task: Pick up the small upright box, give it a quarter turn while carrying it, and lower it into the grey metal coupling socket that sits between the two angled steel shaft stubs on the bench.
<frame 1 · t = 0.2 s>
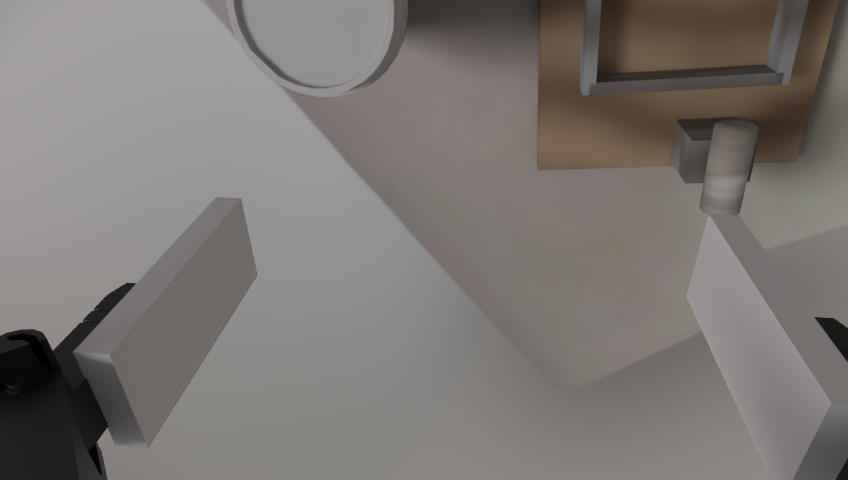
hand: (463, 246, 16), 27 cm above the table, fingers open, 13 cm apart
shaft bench: (680, 2, 37), on the table
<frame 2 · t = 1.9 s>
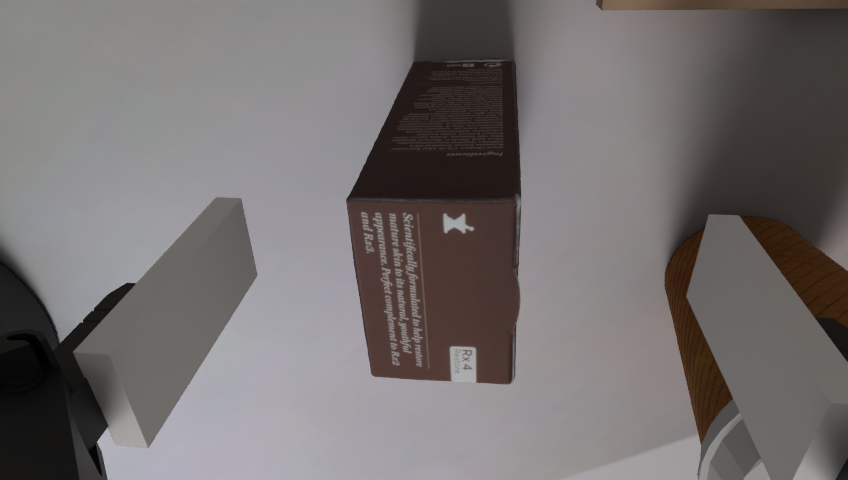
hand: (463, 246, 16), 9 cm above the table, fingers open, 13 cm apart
box: (461, 127, 25), on the table
disposable coffee cup: (732, 271, 27), on the table
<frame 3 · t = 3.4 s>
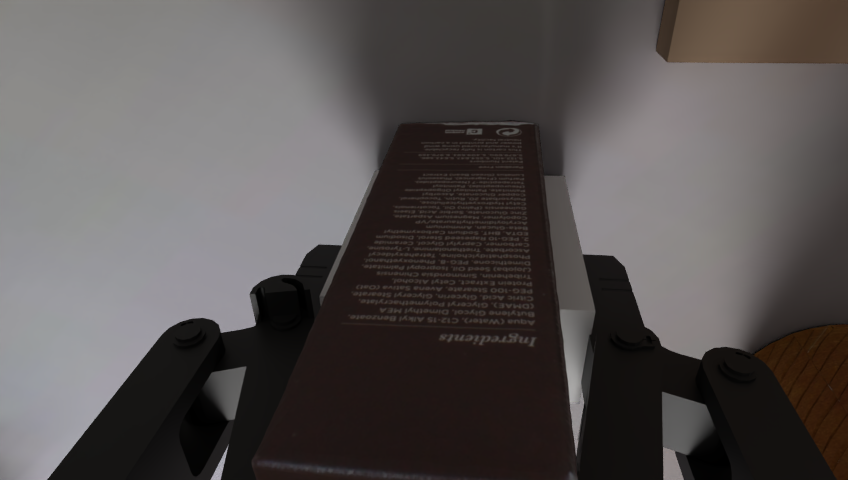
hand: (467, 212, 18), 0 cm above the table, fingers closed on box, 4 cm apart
box: (464, 205, 18), on the table, touching gripper
disposable coffee cup: (816, 385, 21), on the table
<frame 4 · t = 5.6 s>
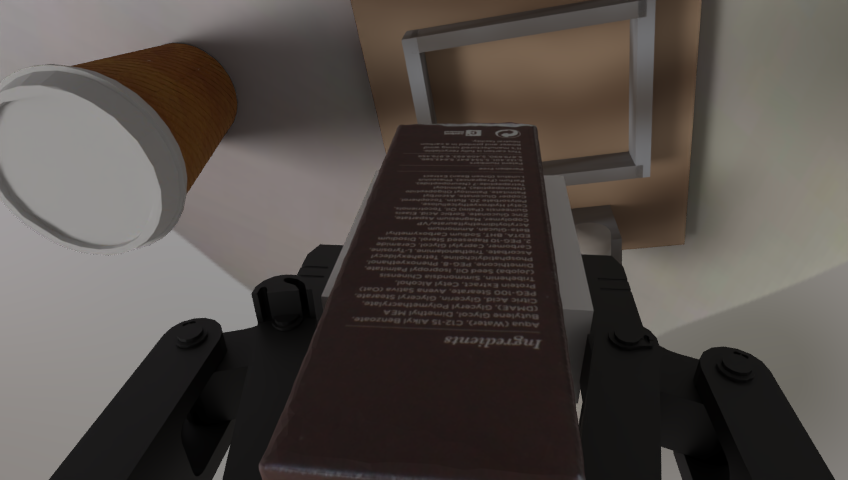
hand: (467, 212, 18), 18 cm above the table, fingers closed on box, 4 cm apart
box: (462, 206, 18), point 17 cm above the table, touching gripper
disposable coffee cup: (190, 92, 36), on the table
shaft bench: (528, 92, 34), on the table
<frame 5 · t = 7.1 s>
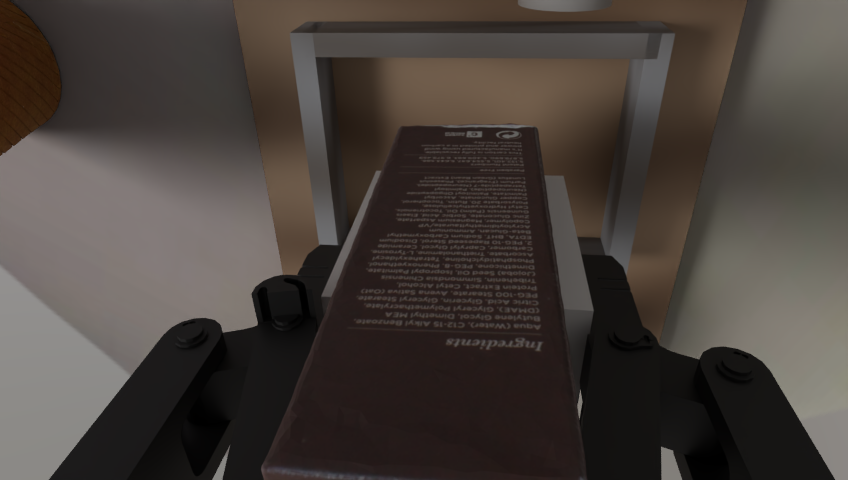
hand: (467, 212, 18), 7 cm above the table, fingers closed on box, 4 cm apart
box: (463, 207, 19), point 6 cm above the table, touching gripper
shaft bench: (475, 136, 24), on the table
when the fingers open (3 cm above the table, at t = 8.1 s): box drops 2 cm, resting on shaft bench.
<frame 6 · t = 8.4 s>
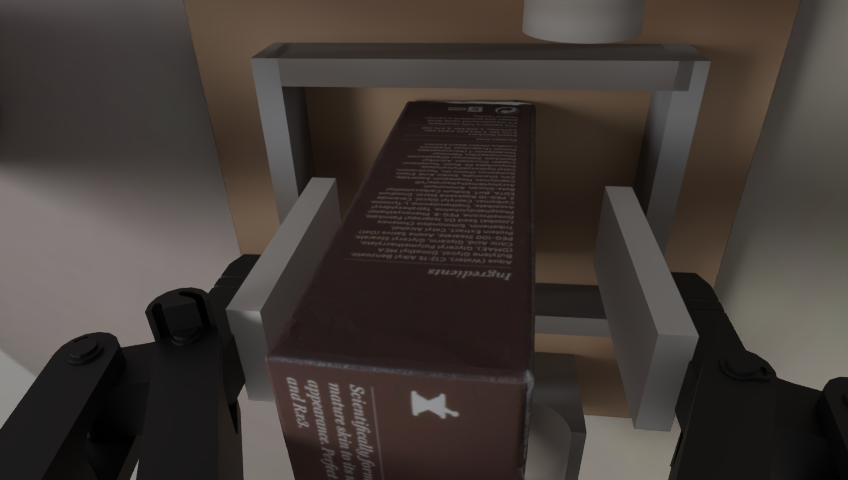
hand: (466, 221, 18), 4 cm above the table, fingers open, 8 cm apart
box: (465, 180, 20), point 1 cm above the table, touching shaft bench
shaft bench: (471, 171, 21), on the table
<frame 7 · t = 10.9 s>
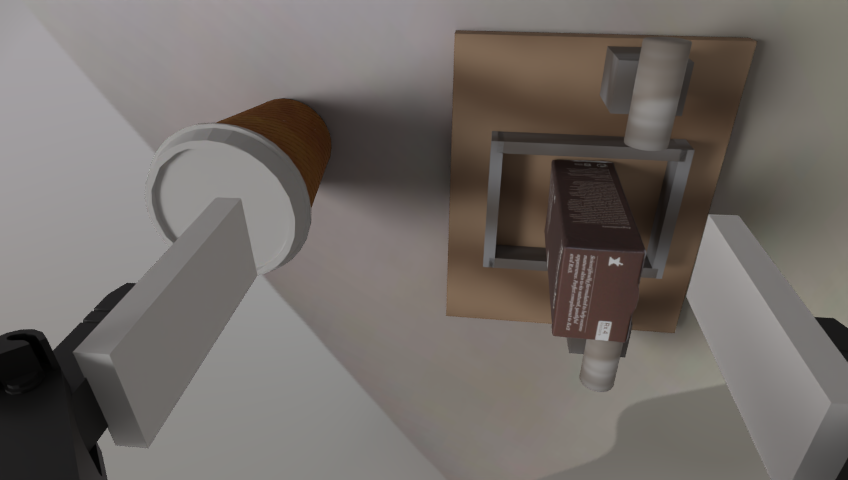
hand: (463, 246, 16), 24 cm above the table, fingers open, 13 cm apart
box: (574, 197, 40), point 1 cm above the table, touching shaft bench
disposable coffee cup: (290, 139, 42), on the table
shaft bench: (575, 193, 41), on the table
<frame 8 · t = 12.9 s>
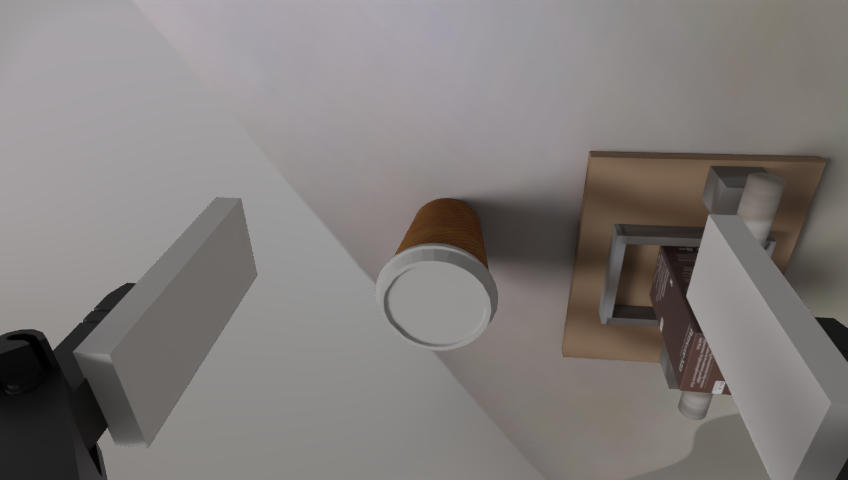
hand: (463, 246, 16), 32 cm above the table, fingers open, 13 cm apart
box: (675, 270, 51), point 1 cm above the table, touching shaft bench
disposable coffee cup: (446, 227, 53), on the table
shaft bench: (673, 265, 52), on the table
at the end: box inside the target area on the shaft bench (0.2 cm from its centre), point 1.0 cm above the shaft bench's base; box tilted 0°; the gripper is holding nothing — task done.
